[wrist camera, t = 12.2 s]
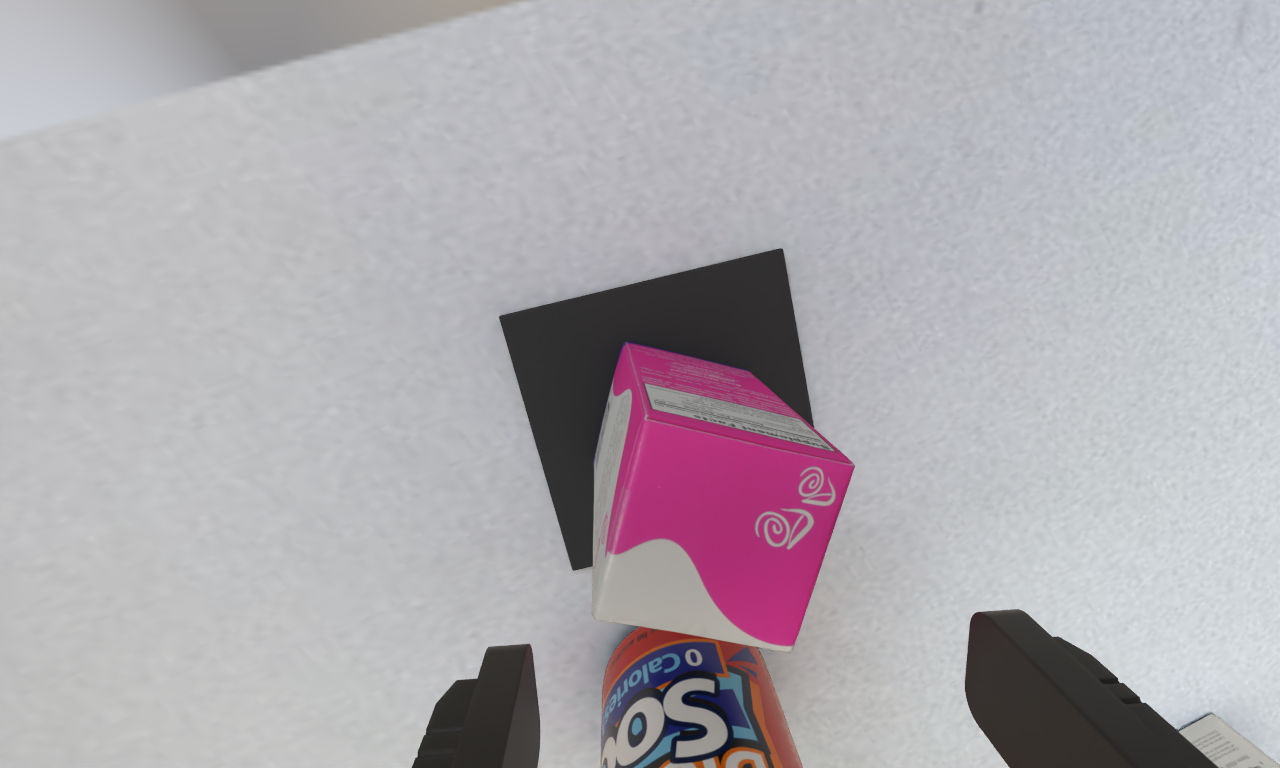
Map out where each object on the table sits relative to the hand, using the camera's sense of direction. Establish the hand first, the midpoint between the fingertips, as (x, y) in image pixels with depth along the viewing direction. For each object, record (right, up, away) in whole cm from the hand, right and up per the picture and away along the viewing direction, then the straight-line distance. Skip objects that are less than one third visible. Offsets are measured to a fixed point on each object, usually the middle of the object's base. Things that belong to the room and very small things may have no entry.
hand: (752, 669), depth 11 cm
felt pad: (-1, +4, +16) cm, 16 cm away
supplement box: (-1, +4, +16) cm, 16 cm away
